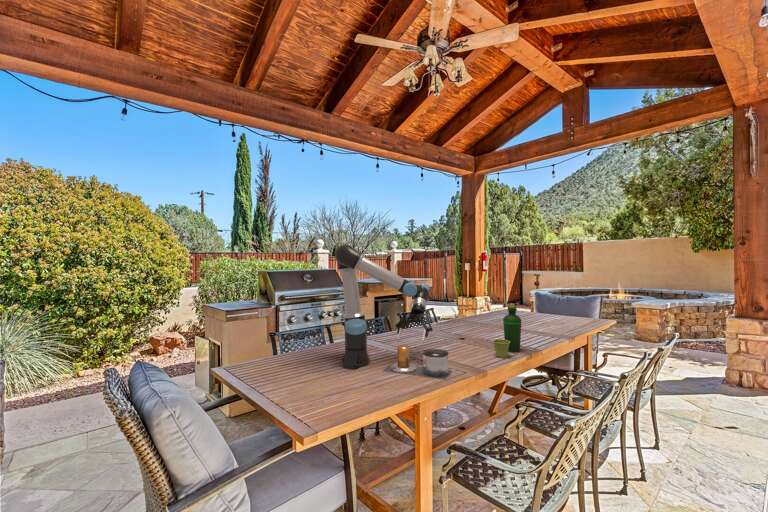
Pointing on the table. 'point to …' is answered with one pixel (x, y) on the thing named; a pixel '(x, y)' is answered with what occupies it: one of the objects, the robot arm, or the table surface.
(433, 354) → the cylinder
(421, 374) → the stove mat
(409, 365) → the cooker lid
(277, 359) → the table surface
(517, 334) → the bottle
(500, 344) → the plant pot
